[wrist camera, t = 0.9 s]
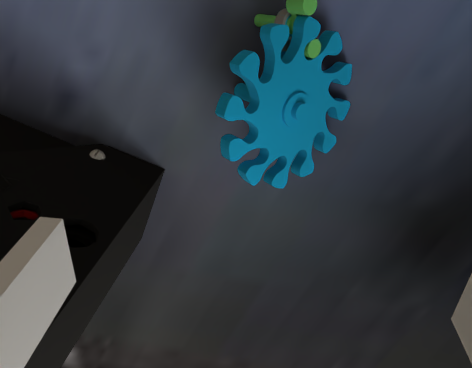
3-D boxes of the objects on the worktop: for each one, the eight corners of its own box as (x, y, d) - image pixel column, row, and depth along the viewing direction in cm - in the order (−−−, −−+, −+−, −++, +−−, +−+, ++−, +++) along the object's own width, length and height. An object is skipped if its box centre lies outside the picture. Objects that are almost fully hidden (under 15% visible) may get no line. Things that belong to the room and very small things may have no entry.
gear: (337, 184, 28) (218, 203, 22) (279, 156, 32) (166, 165, 26) (383, 11, 24) (254, -25, 18) (310, 5, 28) (185, -26, 22)
